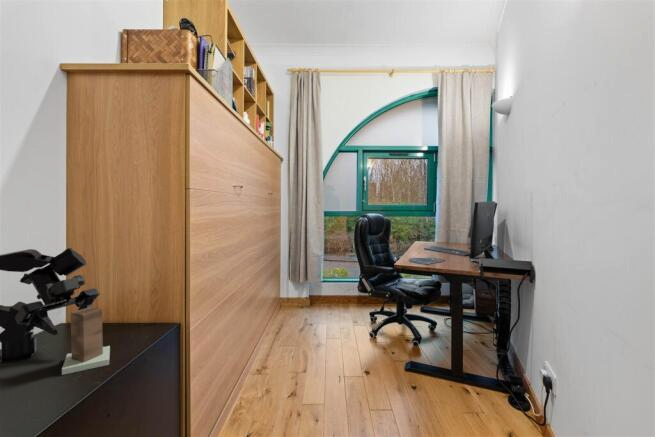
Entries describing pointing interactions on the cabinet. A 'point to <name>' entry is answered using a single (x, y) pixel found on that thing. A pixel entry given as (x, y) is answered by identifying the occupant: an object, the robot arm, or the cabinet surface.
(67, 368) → the sage board
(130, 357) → the cabinet surface
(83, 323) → the walnut block
